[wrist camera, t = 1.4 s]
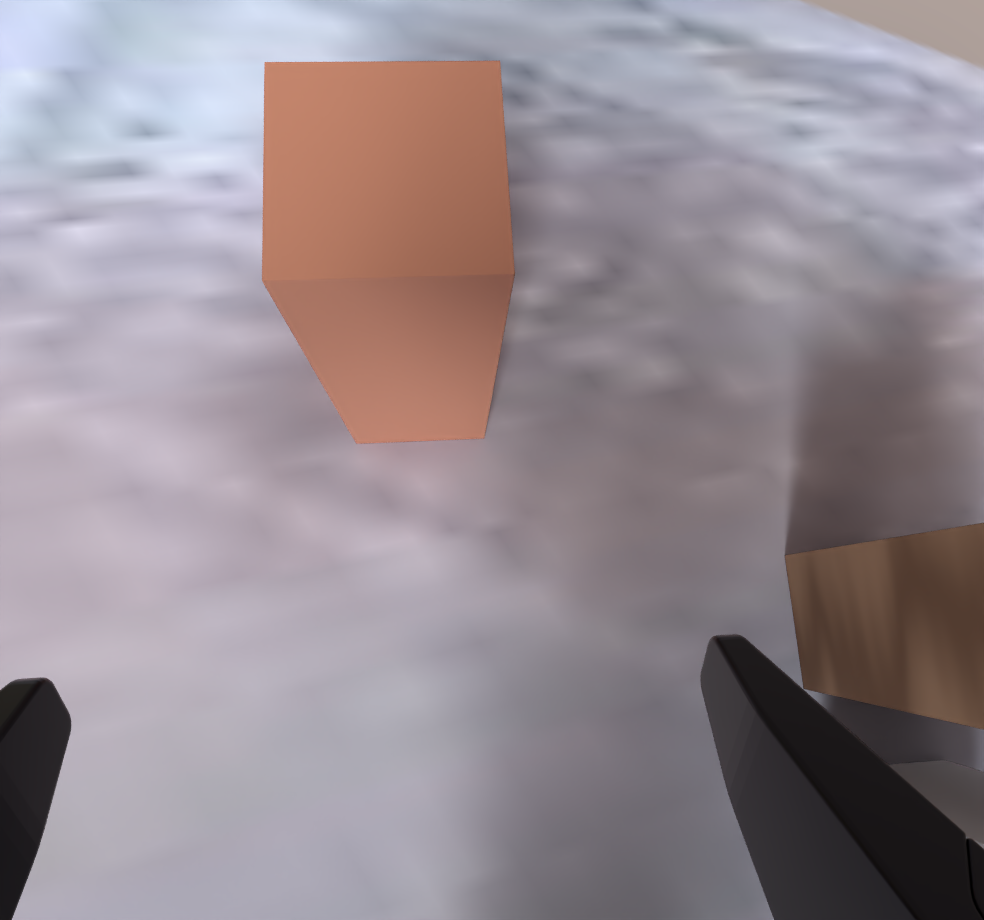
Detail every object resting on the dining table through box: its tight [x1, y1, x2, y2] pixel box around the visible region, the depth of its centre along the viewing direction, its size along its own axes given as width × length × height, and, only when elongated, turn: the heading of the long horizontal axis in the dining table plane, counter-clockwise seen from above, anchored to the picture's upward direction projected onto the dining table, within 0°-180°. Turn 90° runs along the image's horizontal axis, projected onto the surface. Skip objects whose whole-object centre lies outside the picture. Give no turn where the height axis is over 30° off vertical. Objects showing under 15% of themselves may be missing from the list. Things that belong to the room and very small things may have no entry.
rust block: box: [262, 61, 515, 444], centre depth 19 cm, size 4×4×12 cm
